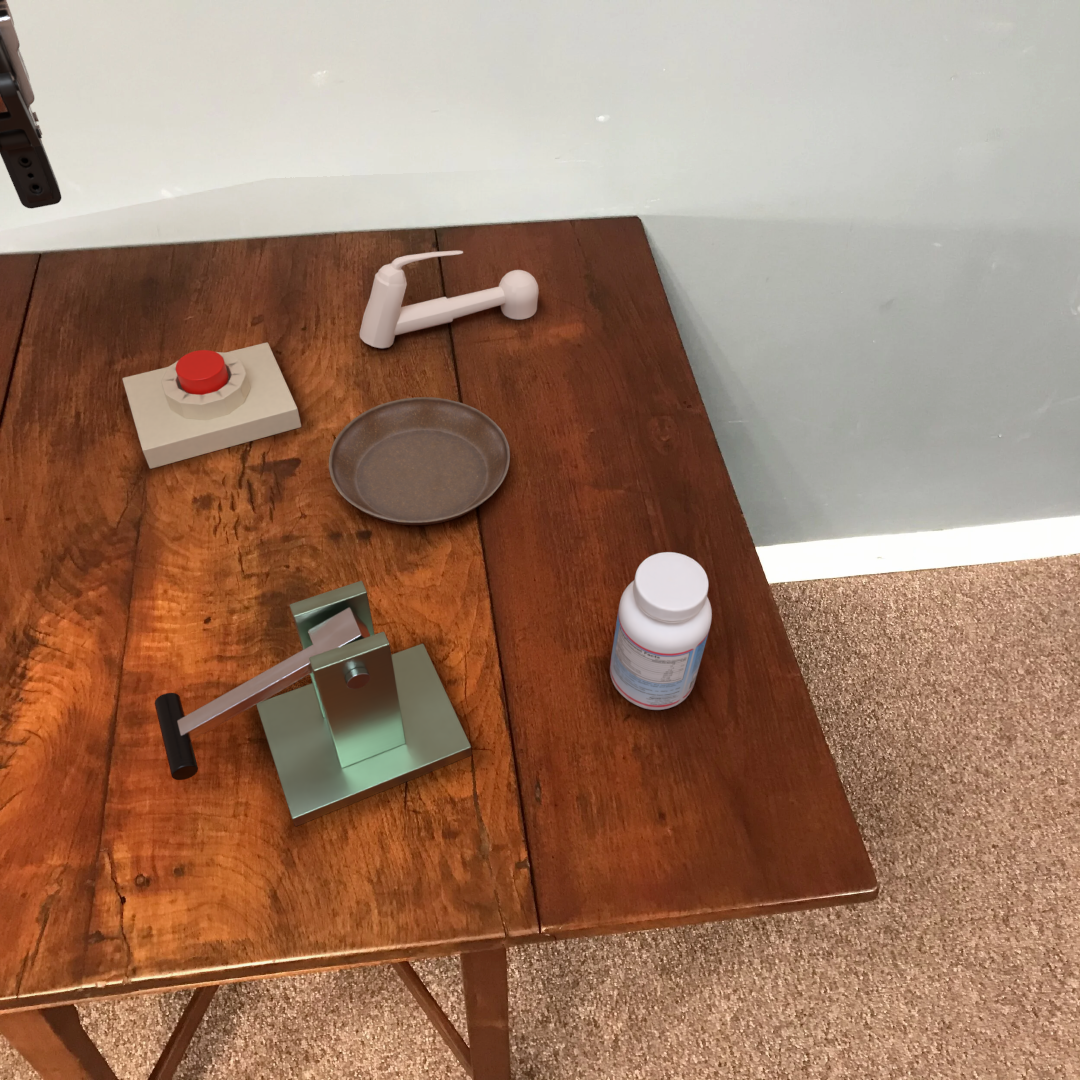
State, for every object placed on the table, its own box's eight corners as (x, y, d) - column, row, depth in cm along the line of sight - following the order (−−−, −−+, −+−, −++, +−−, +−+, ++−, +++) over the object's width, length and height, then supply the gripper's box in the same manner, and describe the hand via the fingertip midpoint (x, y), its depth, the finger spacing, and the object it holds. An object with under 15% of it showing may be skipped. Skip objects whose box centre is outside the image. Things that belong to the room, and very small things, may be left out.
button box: (150, 469, 79) (135, 434, 76) (129, 396, 84) (115, 361, 81) (301, 427, 83) (294, 392, 79) (272, 360, 88) (263, 325, 85)
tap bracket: (295, 827, 59) (253, 726, 49) (259, 712, 64) (215, 600, 54) (472, 755, 62) (466, 648, 53) (424, 652, 68) (410, 536, 58)
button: (186, 400, 79) (180, 384, 78) (176, 372, 81) (170, 356, 80) (233, 388, 80) (228, 372, 79) (222, 361, 82) (218, 344, 81)
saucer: (386, 400, 85) (383, 376, 83) (536, 446, 82) (537, 424, 80) (298, 510, 76) (292, 487, 74) (463, 567, 73) (461, 545, 71)
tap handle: (185, 786, 54) (161, 772, 52) (167, 713, 57) (144, 698, 55) (386, 672, 54) (369, 655, 52) (358, 606, 57) (341, 587, 56)
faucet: (528, 356, 97) (560, 271, 91) (366, 349, 88) (389, 255, 82) (512, 333, 99) (543, 249, 93) (353, 325, 90) (375, 231, 84)
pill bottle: (651, 626, 70) (672, 527, 61) (711, 682, 67) (741, 585, 58) (591, 670, 67) (603, 572, 58) (650, 729, 64) (672, 636, 56)
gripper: (-193, -185, 45) (-35, 160, 58) (-202, -102, 37) (-17, 274, 50) (-23, -197, 47) (92, 138, 60) (1, -121, 40) (127, 244, 53)
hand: (42, 200), depth 55 cm, fingers closed
